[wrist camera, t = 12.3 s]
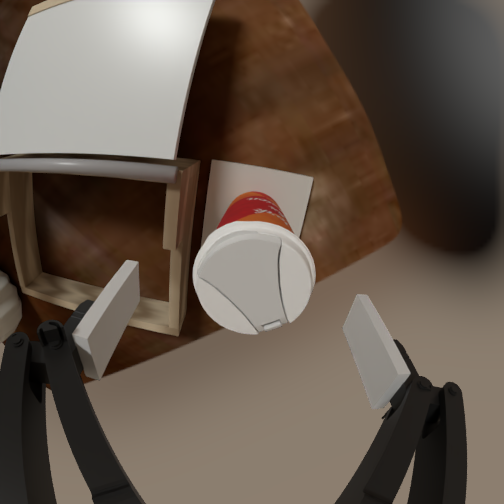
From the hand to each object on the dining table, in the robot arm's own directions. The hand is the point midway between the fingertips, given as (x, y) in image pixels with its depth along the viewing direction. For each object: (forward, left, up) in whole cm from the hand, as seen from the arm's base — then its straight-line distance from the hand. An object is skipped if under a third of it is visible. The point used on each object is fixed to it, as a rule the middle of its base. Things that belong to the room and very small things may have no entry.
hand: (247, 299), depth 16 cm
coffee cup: (0, 0, -17) cm, 17 cm away
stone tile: (0, 0, -17) cm, 17 cm away
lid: (-20, +15, -13) cm, 28 cm away
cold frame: (-20, -5, -17) cm, 26 cm away
